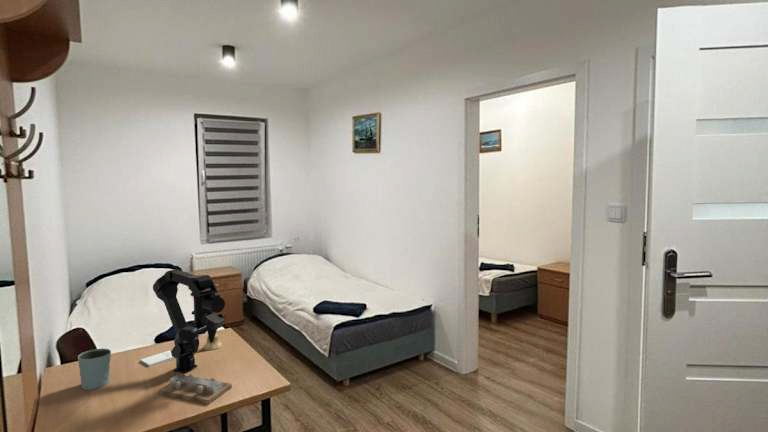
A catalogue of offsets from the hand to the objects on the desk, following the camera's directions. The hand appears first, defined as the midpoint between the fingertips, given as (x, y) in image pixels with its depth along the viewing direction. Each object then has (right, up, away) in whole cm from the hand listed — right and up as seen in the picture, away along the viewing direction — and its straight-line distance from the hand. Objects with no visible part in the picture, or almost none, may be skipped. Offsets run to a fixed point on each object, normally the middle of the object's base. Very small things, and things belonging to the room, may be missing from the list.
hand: (203, 347), depth 162 cm
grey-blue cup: (-38, -13, -6) cm, 40 cm away
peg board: (+2, -13, -10) cm, 16 cm away
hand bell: (-9, -10, +30) cm, 33 cm away
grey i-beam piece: (+2, -12, -10) cm, 15 cm away
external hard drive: (-26, -11, +16) cm, 33 cm away
